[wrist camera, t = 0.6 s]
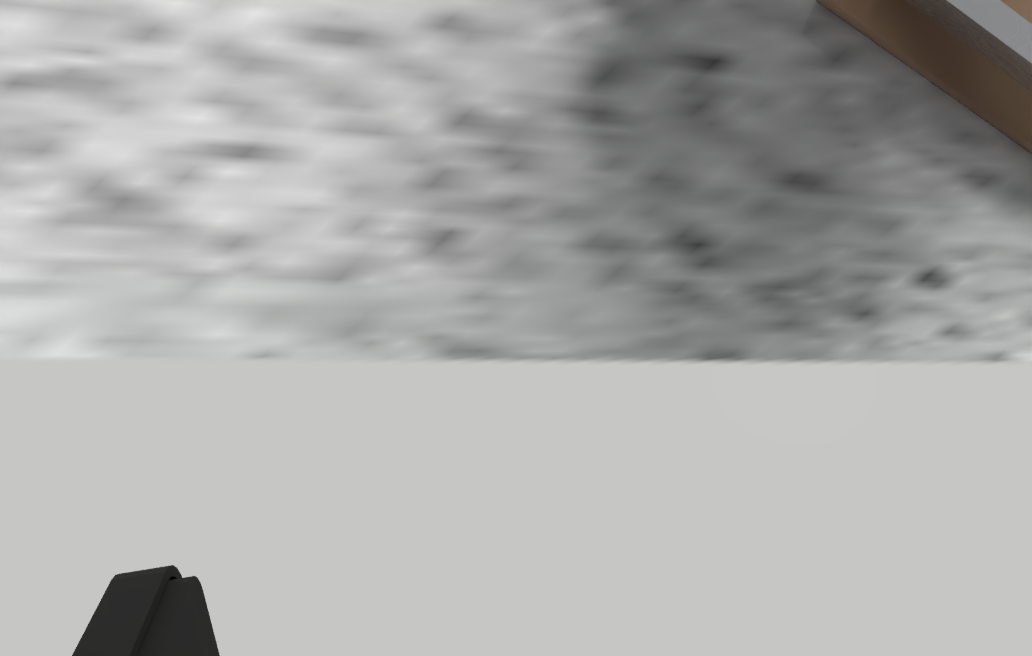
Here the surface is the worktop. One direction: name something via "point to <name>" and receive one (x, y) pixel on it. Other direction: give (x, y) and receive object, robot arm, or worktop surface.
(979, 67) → the socket base
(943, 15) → the square picture frame
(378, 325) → the worktop surface
